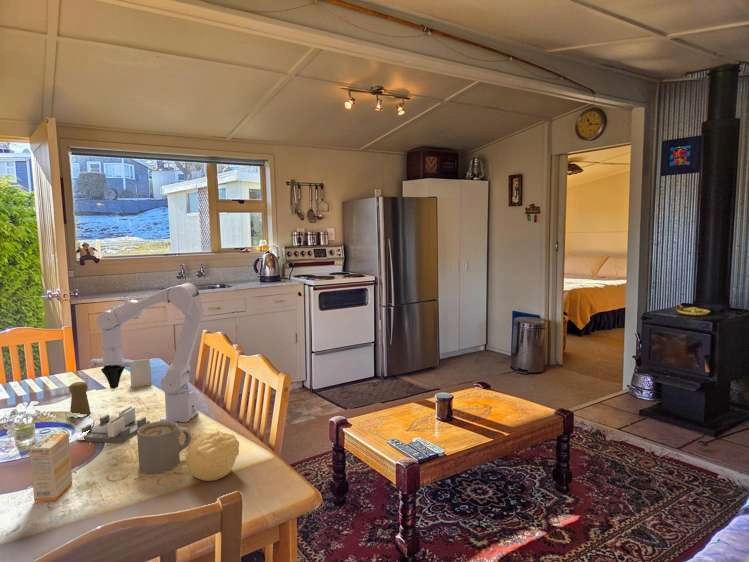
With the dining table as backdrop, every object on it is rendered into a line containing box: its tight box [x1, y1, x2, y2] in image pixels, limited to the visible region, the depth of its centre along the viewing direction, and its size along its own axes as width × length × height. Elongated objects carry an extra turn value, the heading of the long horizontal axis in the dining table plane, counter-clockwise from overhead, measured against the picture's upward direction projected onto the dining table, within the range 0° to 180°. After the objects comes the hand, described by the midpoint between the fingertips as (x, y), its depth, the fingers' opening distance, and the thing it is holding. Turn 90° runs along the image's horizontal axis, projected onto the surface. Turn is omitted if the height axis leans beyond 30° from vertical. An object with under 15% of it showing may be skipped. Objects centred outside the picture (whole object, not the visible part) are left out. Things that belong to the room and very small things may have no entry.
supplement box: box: [29, 432, 73, 503], centre depth 118 cm, size 8×5×13 cm, turn 5°
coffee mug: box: [136, 420, 192, 475], centre depth 133 cm, size 13×10×10 cm
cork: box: [69, 381, 92, 416], centre depth 167 cm, size 6×6×11 cm
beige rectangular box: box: [129, 358, 153, 389], centre depth 198 cm, size 4×7×10 cm, turn 128°
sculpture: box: [186, 430, 240, 482], centre depth 127 cm, size 12×12×11 cm
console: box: [80, 414, 151, 444], centre depth 153 cm, size 14×14×3 cm
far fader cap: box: [118, 406, 137, 426], centre depth 157 cm, size 2×5×4 cm, turn 172°
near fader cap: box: [107, 416, 125, 437], centre depth 149 cm, size 2×5×4 cm, turn 171°
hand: (114, 387), depth 164 cm, fingers closed
